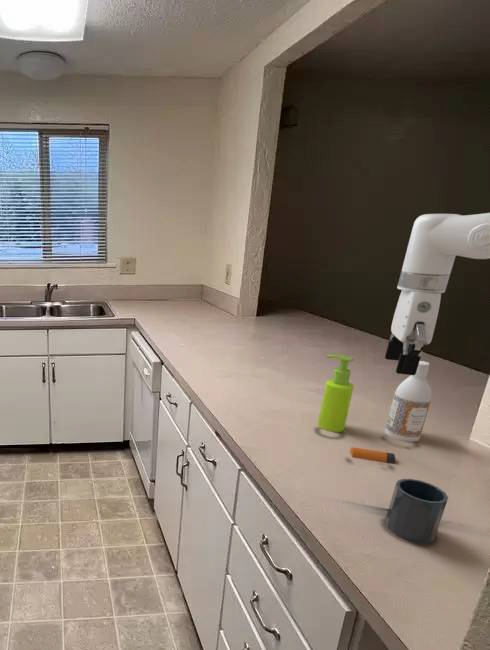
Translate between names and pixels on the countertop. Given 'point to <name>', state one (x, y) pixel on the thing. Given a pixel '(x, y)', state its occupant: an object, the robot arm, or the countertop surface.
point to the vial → (372, 455)
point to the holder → (416, 510)
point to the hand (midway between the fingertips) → (399, 366)
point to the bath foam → (410, 406)
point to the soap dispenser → (336, 397)
